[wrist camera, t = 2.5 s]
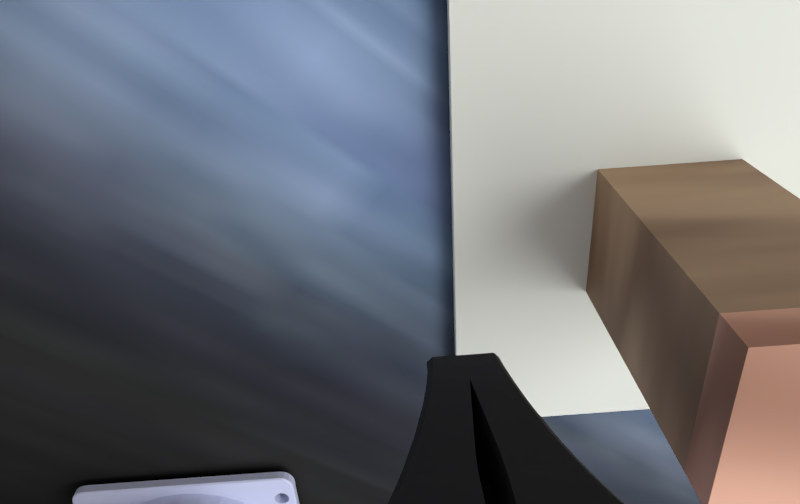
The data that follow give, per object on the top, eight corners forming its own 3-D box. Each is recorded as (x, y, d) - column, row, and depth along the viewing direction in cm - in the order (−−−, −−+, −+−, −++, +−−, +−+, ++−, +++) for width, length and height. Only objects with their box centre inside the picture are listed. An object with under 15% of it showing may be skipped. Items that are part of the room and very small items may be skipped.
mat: (966, 375, 22) (978, 385, 22) (456, 412, 22) (457, 422, 22) (1179, -70, 16) (1203, -69, 15) (446, -20, 15) (448, -17, 15)
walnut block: (715, 282, 19) (910, 497, 12) (585, 291, 19) (706, 511, 12) (742, 159, 17) (990, 330, 10) (597, 169, 17) (748, 347, 10)
